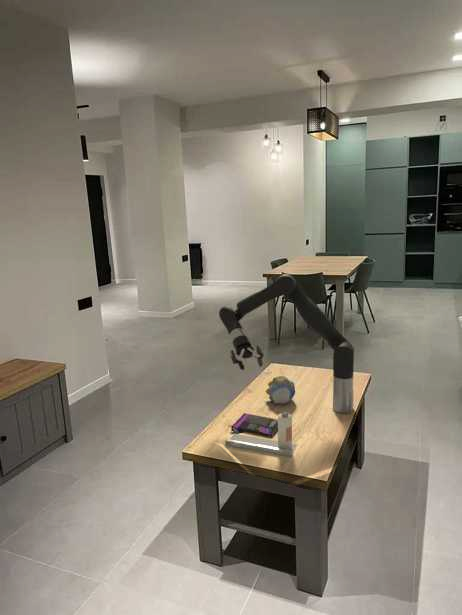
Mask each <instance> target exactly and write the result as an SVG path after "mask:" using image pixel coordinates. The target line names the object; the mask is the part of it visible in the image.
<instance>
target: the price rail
mask: <svg viewBox="0 0 462 615" xmlns="http://www.w3.org/2000/svg"><path fill="white" fill-rule="evenodd" d="M224 445H225V446H227V445H229V446H228V447H232V446H235V447H234V448H238V447H240V448H239V449H244V448H246V450H249V449H251V450H250V451H255V450H257V451H256V452H260V451H263V452H262V453H266V452H268V453H267V454H272V453H274V455H277V454H279V455H278V456H283V455H285V457H288V456H293V455H292V450H287V449H281V448H275V447H269V446H263V445H258V444H252V443H246V442H240V441H235V440H230V439H228V438H225V441H224Z"/></svg>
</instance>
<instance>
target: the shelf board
mask: <svg viewBox="0 0 462 615" xmlns="http://www.w3.org/2000/svg"><path fill="white" fill-rule="evenodd" d="M229 438H230V439H229V440H235V441H240V442H246V443H252V444H258V445H263V446H269V447H275V448H278V440H273V439H267V438H261V437H255V436H249V435H242V434H239V433H233V434H232V435H231V437H229ZM226 446H227V447H230V446H229V445H226ZM297 446H298V444H297V443H292V456H293V454H294V452H295V450H296V449H297ZM231 447H234V448H236V447H235V446H231ZM237 448H239V449H241V448H240V447H237ZM243 449H246V448H243ZM246 450H247V449H246ZM248 450H250V451H252V450H251V449H248ZM254 451H255V452H258V451H257V450H254ZM259 452H261V453H264V452H263V451H259ZM265 453H266V454H269V453H268V452H265ZM271 454H274V453H271ZM274 455H275V454H274ZM276 455H278V456H280V455H279V454H276ZM282 456H285V455H282ZM292 456H287V457H289V458H292ZM285 457H286V456H285Z"/></svg>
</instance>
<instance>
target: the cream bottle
mask: <svg viewBox="0 0 462 615" xmlns="http://www.w3.org/2000/svg"><path fill="white" fill-rule="evenodd" d="M277 420H278V431H277V441H278V448H281V449H287V450H292V444H293V416H292V414H290V413H289V412H286V411H283V412H281V413H280V414H278V415H277Z"/></svg>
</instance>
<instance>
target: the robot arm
mask: <svg viewBox="0 0 462 615" xmlns="http://www.w3.org/2000/svg"><path fill="white" fill-rule="evenodd" d="M282 296H285V297H287V299H288V300H289V301H291V303H292V305H293V306H294V307H295V309H296V310H297V312H298V314H299V315H300V317H301V318H302V320H303V321H304V323H305V324H306V325H307V326H308V327H309V328H310V329H311V330H312V331H313V332H314V333H316V335H318V336H320V337H321V338H323V339H324V340H325V341H326V343H328V345H329V346H330V347H331V349H332V351H333V353H332V354H333V356H332V357H333V358H332V370H333V372H332V373H333V376H332V378H333V379H332V387H333V388H332V410H333V411H334V412H336V413H339V414H352V412H353V409H354V395H355V394H354V391H355V389H354V372H355V371H354V365H355V363H354V361H355V356H354V355H355V347H354V346H353V344H352V343H351V342H350V341H349V340H348V339H347V338H345V337H344V335H342V334H341V332H339V330H337V328H336V327H335V325H334V324H333V323H332V322H331V320H330V319H329V317H327V316H326V314H325V313H324V312H323V311H322V309H321V308H320V307H319V306H318V305H317V304H316V303H315V302H314V300H312V299H311V298H310V297H309V296H307V294H306V293H305V292H304V291H303V289H302V288H301V286H300V285H299V284H298V282H297V281H296V279H295V278H294V277H293V276H292V275H291V274H288V273H285V274H284V273H283V274H281V275H279V276H278V277H277V278H276V280H275V281H274V282H272V283H271V284H269V285H268V286H266V287H265V288H263V289H261V290H260V291H257V292H255V293H253V294H251V295H248V296H247V297H245V298H243V299H241V300H240V301H238V302H237V304H236V309H233V308H232V307H230V306H228V305H227V306H226V305H224V306H222V307H220V309H219V311H218V316H219V319H220V321H221V322H222V324H223V326H224V327H225V328H226V330H227V333H228V335H229V338H230V340H231V343H232V345H233V347H234V350H233V349H231V350H230V354H229V355H230V359H231V361H232V363H233V364H234V365H235V364H237V365H238V366H239V369H240V370H241V371H244V370H245V366H244V363H243V361H242V360H243V359H250V358H251V359H255V360H256V361H257V363H258V366H259V367H262V366H263V364H264V362H263V358H264V352H263V350H262V349H261V347H260V346H259V345H256V346H255V347H253V345H252V344H251V341H250V339H249V338H248V336H247V333H246V331H244V328H243V326H242V324H241V322H240V321H241V320H242V319H243V318H244V317H245V316H246V315H248V314H250V313H251V312H253V311H255V310H257V309H258V308H260V307H262V306H263V305H265V304H267V303H268V302H271V301H272V300H274V299H276V298H280V297H282ZM236 356H238V358H237V357H236Z"/></svg>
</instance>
